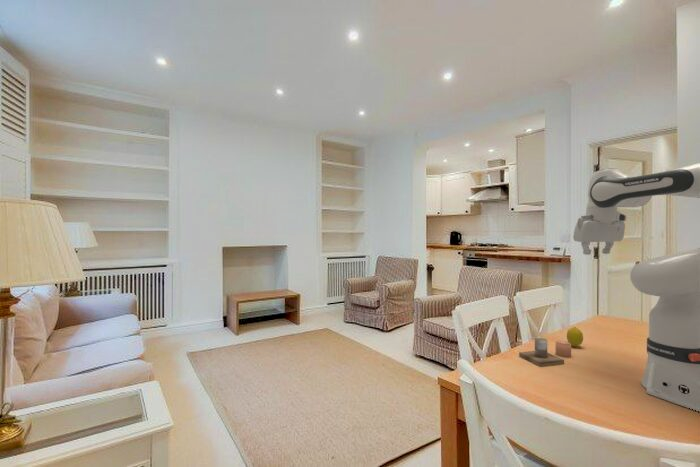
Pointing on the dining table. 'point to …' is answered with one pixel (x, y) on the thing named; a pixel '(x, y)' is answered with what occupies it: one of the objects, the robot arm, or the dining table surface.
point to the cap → (563, 349)
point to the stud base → (541, 360)
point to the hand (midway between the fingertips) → (596, 254)
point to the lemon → (574, 336)
